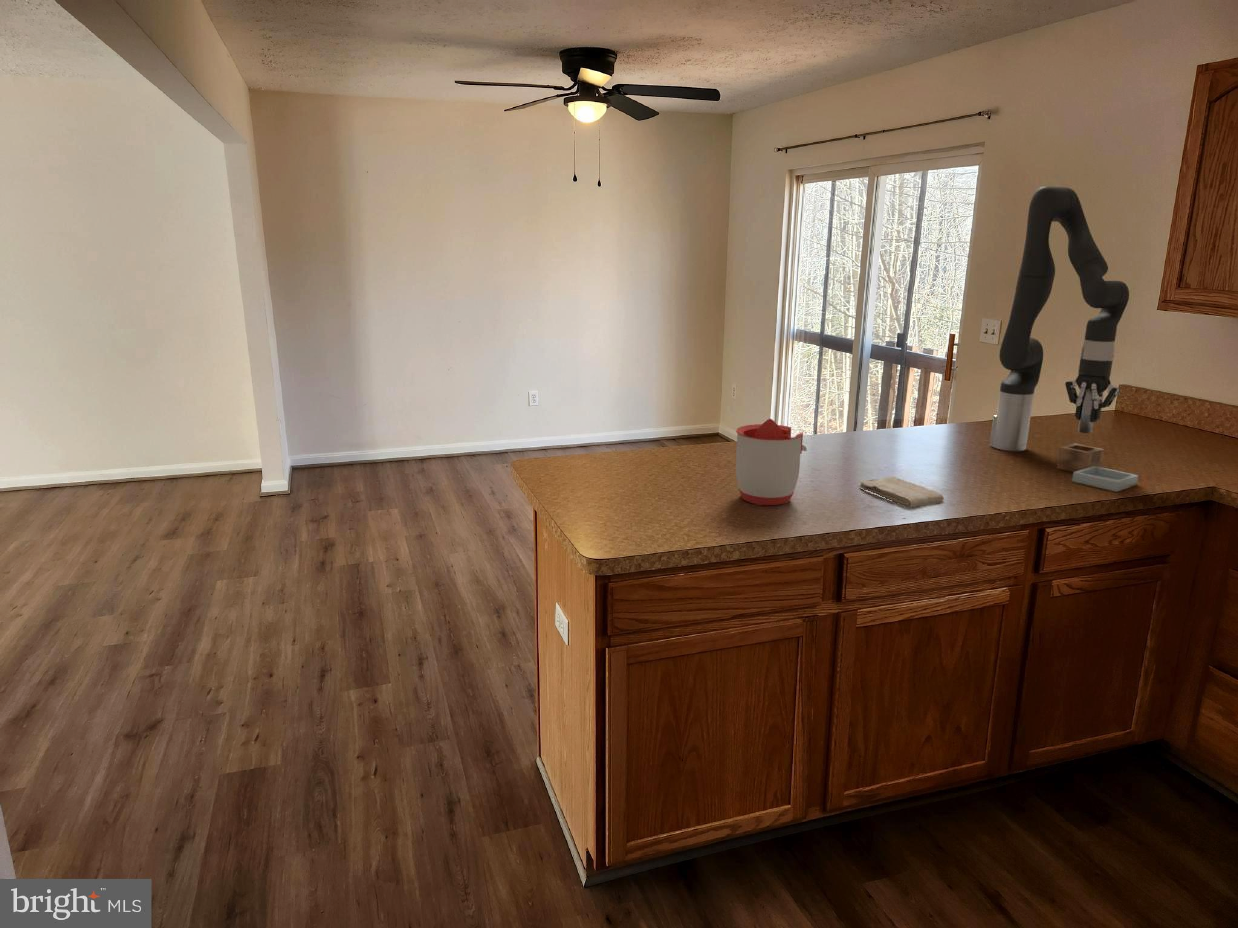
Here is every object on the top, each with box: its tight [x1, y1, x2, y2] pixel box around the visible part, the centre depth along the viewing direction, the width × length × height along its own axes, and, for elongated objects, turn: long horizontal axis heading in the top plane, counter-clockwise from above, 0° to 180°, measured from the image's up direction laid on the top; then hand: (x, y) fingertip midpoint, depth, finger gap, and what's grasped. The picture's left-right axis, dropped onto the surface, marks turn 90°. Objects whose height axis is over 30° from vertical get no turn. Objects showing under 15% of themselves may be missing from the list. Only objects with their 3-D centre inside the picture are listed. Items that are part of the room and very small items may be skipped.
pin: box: [1077, 388, 1094, 434], centre depth 220 cm, size 3×3×12 cm
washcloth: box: [858, 476, 945, 509], centre depth 200 cm, size 12×18×3 cm, turn 28°
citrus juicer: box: [735, 418, 807, 506], centre depth 194 cm, size 16×17×20 cm
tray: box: [1071, 466, 1139, 493], centre depth 211 cm, size 11×11×2 cm
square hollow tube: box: [1056, 443, 1105, 473], centre depth 223 cm, size 8×8×6 cm
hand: (1086, 420), depth 220 cm, fingers closed on pin, 3 cm apart
